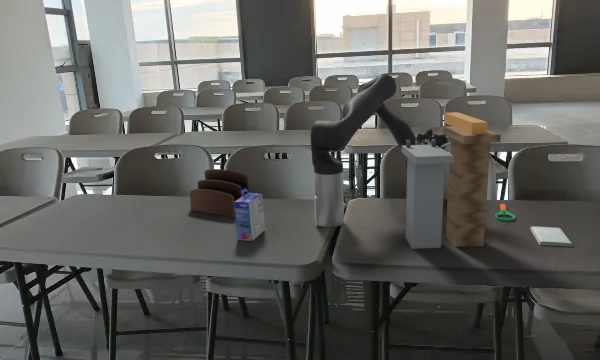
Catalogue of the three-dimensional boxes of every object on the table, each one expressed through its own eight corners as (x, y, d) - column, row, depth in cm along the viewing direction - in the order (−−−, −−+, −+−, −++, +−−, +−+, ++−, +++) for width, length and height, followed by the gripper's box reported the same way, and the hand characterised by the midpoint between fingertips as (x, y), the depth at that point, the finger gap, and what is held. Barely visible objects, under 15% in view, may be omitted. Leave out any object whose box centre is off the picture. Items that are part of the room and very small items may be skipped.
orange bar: (471, 134, 126) (472, 122, 125) (444, 122, 147) (444, 112, 147) (486, 133, 126) (487, 122, 125) (457, 122, 147) (457, 112, 147)
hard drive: (572, 243, 133) (560, 227, 145) (539, 241, 135) (530, 225, 147) (571, 248, 134) (559, 232, 145) (539, 246, 136) (530, 230, 147)
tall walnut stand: (457, 252, 132) (463, 135, 124) (439, 231, 148) (443, 126, 140) (492, 251, 132) (500, 134, 124) (470, 230, 148) (476, 125, 140)
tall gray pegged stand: (413, 254, 132) (416, 149, 125) (399, 233, 147) (401, 138, 140) (448, 253, 132) (453, 147, 125) (431, 232, 148) (434, 137, 140)
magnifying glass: (515, 223, 154) (516, 218, 153) (495, 222, 156) (495, 216, 155) (512, 209, 168) (512, 204, 167) (493, 207, 169) (493, 203, 169)
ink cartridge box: (249, 228, 155) (246, 185, 152) (265, 230, 154) (263, 186, 150) (235, 240, 146) (232, 193, 143) (252, 241, 145) (249, 195, 141)
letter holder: (208, 203, 185) (205, 167, 181) (251, 209, 175) (249, 171, 172) (190, 210, 176) (187, 172, 173) (234, 218, 167) (231, 178, 163)
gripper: (409, 139, 170) (421, 121, 154) (449, 137, 170) (465, 119, 154) (411, 159, 168) (423, 143, 152) (452, 158, 168) (468, 141, 152)
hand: (444, 131), depth 153 cm, fingers open, 8 cm apart
